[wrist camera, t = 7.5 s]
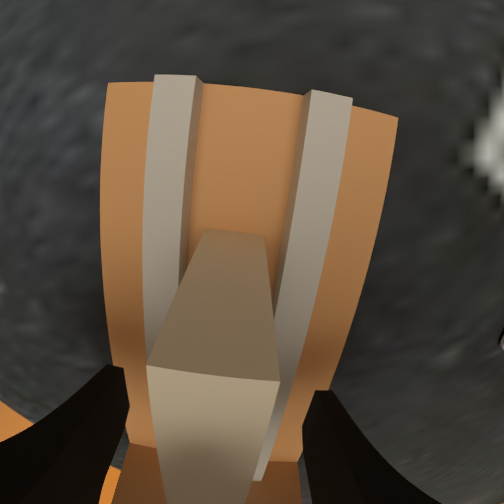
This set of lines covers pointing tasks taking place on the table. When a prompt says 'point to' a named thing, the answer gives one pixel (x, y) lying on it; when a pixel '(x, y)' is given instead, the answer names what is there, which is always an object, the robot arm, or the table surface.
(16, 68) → the table surface
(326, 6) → the table surface
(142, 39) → the table surface
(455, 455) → the table surface
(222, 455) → the door panel
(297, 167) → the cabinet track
